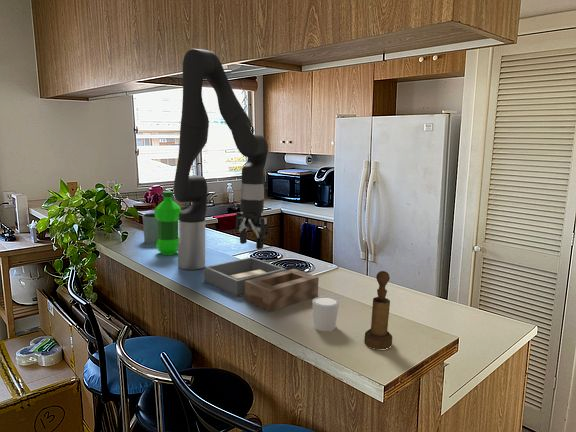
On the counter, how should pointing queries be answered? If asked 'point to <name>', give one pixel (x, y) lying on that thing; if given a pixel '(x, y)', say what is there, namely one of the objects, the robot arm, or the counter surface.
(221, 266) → the charcoal tray
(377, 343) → the brown wooden tall figure
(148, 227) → the drinking glass
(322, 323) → the white cup
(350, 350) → the counter surface
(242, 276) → the maple bar
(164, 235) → the plastic bottle
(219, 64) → the robot arm
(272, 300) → the walnut pocket board
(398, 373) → the counter surface
